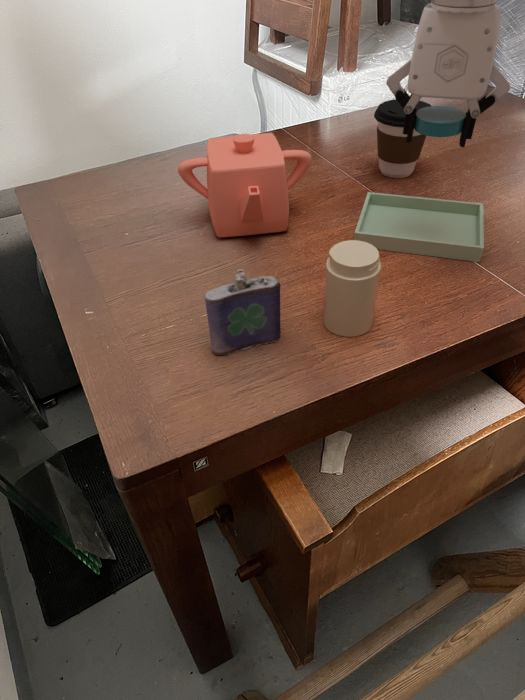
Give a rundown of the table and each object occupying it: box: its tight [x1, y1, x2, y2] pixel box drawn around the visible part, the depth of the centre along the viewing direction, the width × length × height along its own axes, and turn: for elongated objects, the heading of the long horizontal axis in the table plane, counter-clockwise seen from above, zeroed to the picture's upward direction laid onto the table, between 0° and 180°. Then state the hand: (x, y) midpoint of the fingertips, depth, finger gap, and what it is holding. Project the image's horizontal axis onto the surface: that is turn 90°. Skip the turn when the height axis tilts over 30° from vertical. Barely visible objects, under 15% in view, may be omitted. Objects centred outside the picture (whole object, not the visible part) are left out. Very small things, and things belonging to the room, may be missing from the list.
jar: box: [322, 239, 382, 338], centre depth 64 cm, size 7×7×11 cm
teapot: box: [177, 132, 312, 238], centre depth 82 cm, size 20×22×14 cm
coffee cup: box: [373, 98, 432, 179], centre depth 96 cm, size 11×11×12 cm
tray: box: [353, 191, 485, 263], centre depth 82 cm, size 19×14×2 cm
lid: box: [414, 105, 466, 138], centre depth 71 cm, size 7×7×2 cm
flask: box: [204, 268, 282, 356], centre depth 61 cm, size 9×3×11 cm, turn 109°
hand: (435, 140), depth 73 cm, fingers closed on lid, 6 cm apart
